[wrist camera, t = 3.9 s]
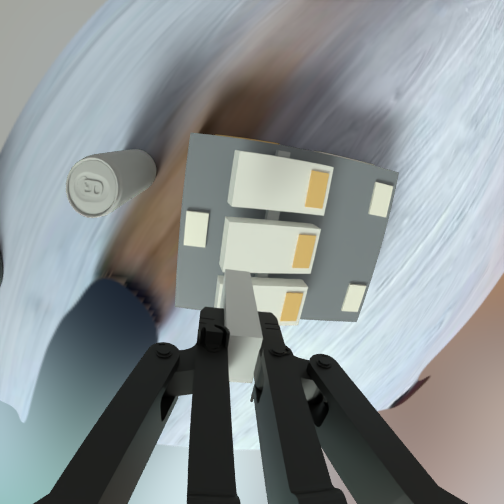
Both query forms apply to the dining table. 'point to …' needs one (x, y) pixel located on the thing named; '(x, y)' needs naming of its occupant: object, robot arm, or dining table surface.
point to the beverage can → (108, 181)
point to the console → (331, 224)
